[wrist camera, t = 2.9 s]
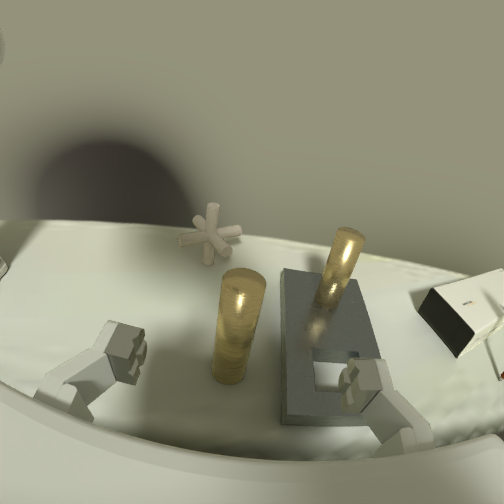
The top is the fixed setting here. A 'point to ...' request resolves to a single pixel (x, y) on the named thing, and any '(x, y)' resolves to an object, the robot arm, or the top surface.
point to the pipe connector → (210, 235)
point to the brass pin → (236, 323)
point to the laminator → (466, 310)
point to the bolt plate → (322, 333)
